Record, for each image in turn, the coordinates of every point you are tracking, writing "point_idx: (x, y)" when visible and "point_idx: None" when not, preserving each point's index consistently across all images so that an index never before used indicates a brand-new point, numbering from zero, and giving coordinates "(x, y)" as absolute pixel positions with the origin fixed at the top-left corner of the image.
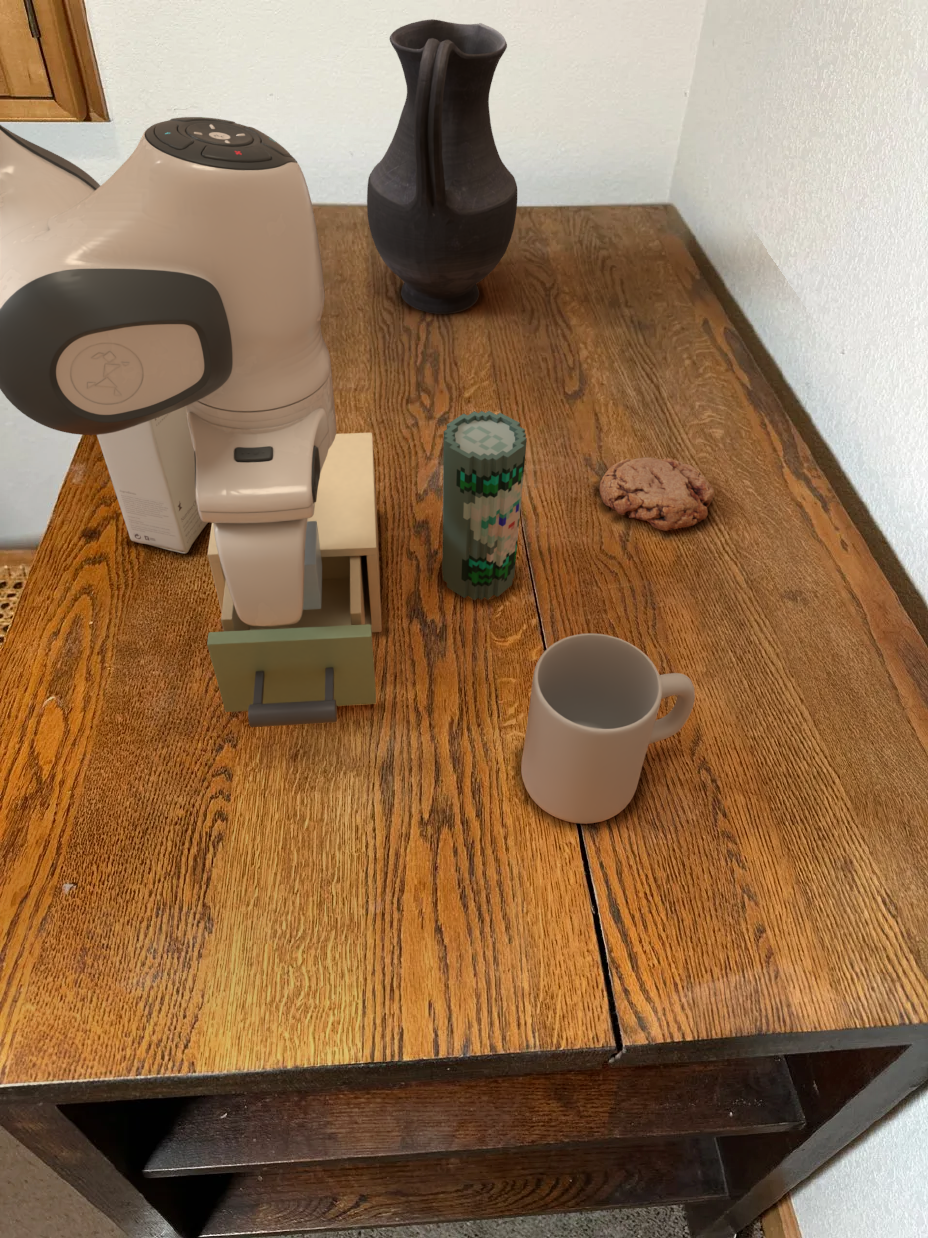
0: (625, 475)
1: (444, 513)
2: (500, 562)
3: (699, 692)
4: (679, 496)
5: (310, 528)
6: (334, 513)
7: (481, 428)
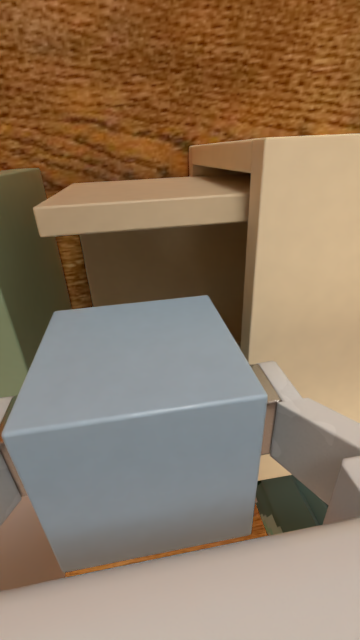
0: None
1: (318, 499)
2: None
3: (121, 564)
4: None
5: (219, 533)
6: (344, 414)
7: None
